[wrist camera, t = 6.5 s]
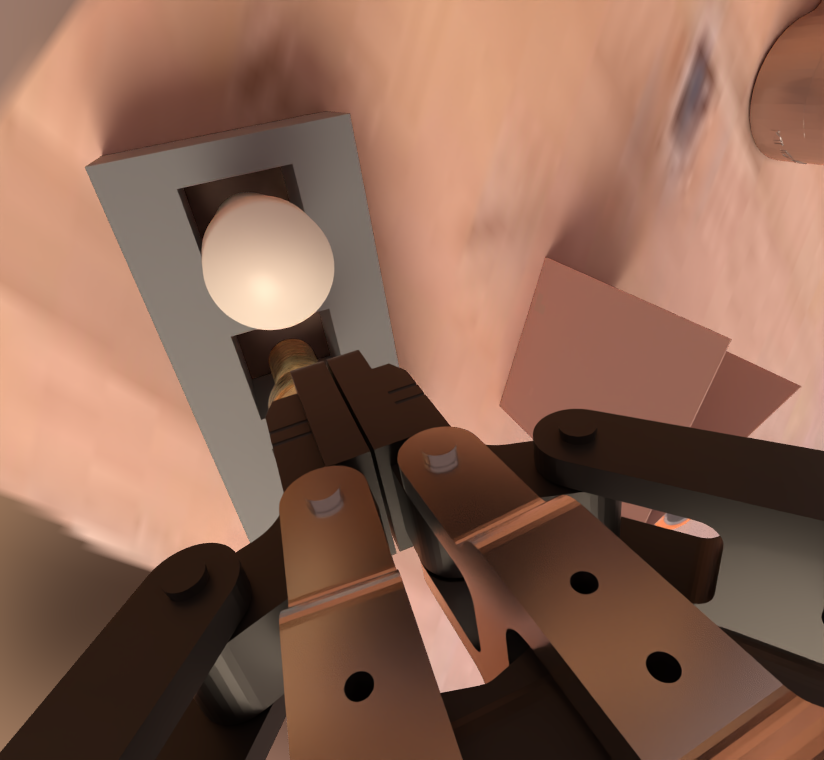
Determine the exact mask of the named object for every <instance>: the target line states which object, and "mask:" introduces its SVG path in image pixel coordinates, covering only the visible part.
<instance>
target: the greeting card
mask: <svg viewBox="0 0 824 760" xmlns="http://www.w3.org/2000/svg"><path fill="white" fill-rule="evenodd" d="M731 340H732V339H730V338H728V337H725V336H723V335H721V334H719V333H716V332H714V331H712V330H710V329H707V328H705V327H703V326H701V325H698V324H696V323H694V322H692V321H689V320H687V319H685V318H683V317H680V316H678V315H676V314H674V313H671V312H669V311H667V310H665V309H662V308H660V307H658V306H656V305H653V304H651V303H649V302H646V301H644V300H642V299H640V298H637V297H635V296H633V295H631V294H628V293H626V292H624V291H622V290H619V289H617V288H615V287H613V286H610V285H608V284H606V283H604V282H601V281H599V280H597V279H595V278H592V277H590V276H588V275H586V274H583V273H581V272H579V271H577V270H574V269H572V268H570V267H568V266H565V265H563V264H561V263H559V262H556V261H554V260H552V259H550V258H547V257H546V258H545V261H544V264H543V267H542V270H541V274H540V277H539V280H538V283H537V287H536V290H535V293H534V296H533V299H532V303H531V306H530V309H529V312H528V316H527V319H526V322H525V325H524V328H523V332H522V335H521V338H520V341H519V345H518V348H517V351H516V354H515V357H514V361H513V364H512V367H511V370H510V374H509V377H508V380H507V383H506V386H505V390H504V393H503V396H502V399H501V403H500V407H501V408H502V409H503V410H504V411H505V412H506V413H507V414H508V415H509V416H510V417H511V418H512V419H513V420H514V421H515V422H516V423H517V424H518V425H519V426H520V427H521V428H522V429H523V430H524V431H526V432H527V433H528V434H529V435H530V436H531V437H532V438H533V430H534V428H535V426H536V424H537V423H538V422H539V421H540V420H541V419H542V418H544V417H545V416H547V415H549V414H551V413H554V412H557V411H560V410H566V409H588V410H594V411H600V412H606V413H611V414H617V415H623V416H628V417H634V418H640V419H645V420H651V421H657V422H662V423H668V424H674V425H679V426H685V427H691V428H696V429H702V430H708V431H713V432H719V433H725V434H730V435H736V436H741V437H748V436H749V435H750V434H752V433H753V432H754V431H755V430H756V429H757V428H758V427H759V426H760V425H761V424H762V423H763V422H764V421H765V420H766V419H767V418H769V417H770V416H771V415H772V414H773V413H774V412H775V411H776V410H777V409H778V408H779V407H780V406H781V405H782V404H783V403H785V402H786V401H787V400H788V399H789V398H790V397H791V396H792V395H793V394H794V393H795V392H796V391H797V390H798V389H799V388H801V386H799V385H797V384H795V383H793V382H791V381H789V380H787V379H785V378H782V377H780V376H778V375H776V374H774V373H772V372H770V371H768V370H765V369H763V368H761V367H759V366H757V365H755V364H753V363H751V362H748V361H746V360H744V359H742V358H740V357H738V356H736V355H734V354H731V353H729V352H727V349H728V347H729V344H730V342H731ZM665 514H666V513H664V512H660V511H657V510H653V509H649V508H645V507H641V506H637V505H633V504H629V503H625V502H622V507H621V516H622V517H626V518H629V519H633V520H637V521H640V522H644V523H648V524H652V525H655V524H656V523H657V522H658V521H659V520H660V519H661V518H662V517H663V516H664V515H665Z"/></svg>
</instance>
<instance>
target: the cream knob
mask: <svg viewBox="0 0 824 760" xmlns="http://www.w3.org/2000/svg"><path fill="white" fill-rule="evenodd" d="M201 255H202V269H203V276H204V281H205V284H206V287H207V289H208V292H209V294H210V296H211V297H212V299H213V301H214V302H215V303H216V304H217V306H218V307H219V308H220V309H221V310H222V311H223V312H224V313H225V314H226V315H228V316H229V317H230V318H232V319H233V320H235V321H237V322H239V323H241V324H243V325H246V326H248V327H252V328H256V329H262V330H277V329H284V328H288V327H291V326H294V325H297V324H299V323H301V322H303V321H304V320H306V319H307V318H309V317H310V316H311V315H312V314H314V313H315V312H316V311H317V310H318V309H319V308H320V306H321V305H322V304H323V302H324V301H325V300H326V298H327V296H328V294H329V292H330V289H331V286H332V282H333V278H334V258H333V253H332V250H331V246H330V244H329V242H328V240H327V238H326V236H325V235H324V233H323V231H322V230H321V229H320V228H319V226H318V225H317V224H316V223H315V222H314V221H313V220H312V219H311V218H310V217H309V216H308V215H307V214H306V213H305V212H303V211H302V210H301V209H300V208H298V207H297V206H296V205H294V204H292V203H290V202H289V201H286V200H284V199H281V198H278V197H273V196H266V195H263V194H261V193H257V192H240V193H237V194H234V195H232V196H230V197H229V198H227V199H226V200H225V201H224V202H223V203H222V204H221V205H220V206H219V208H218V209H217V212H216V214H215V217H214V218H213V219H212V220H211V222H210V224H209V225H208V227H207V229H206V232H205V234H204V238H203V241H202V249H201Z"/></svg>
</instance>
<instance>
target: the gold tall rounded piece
mask: <svg viewBox="0 0 824 760" xmlns="http://www.w3.org/2000/svg"><path fill="white" fill-rule="evenodd" d="M315 363H318V360H317V358H316V356H315V354H314V352H313V350H312V348H311V347H310V346H309V345H308V344H307V343H306V342H304V341H302V340H300V339H286V340H283V341H281V342H279V343H278V344H277V345H275V347H274V348H273V349H272V351H271V353H270V355H269V365H270V369H271V372H272V375H273V379H274V382H275V385H274V387H273V388H272V390H271V393H270V396H269V401H268V407H269V408H270V406H271V403H272V401H275V400H278V399H281V398H284V397H287V396H290V395H293V394H297V392H296V389H295V386H294V383H293V380H292V377H291V374H290V371H292V370H295V369H299V368H302V367H305V366H308V365H311V364H315Z"/></svg>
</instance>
